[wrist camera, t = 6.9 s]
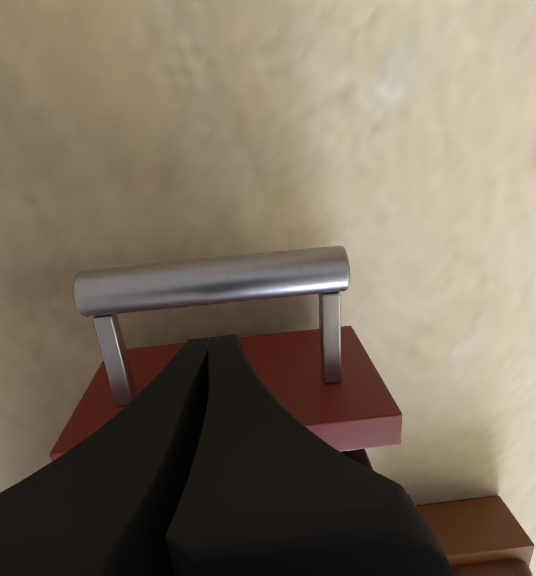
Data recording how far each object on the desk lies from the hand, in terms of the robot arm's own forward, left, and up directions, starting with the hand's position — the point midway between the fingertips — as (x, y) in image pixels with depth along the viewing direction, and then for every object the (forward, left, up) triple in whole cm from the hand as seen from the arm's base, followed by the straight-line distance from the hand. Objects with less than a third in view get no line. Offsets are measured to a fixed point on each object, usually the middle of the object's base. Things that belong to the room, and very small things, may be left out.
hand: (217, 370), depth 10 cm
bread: (+15, -14, -7) cm, 22 cm away
